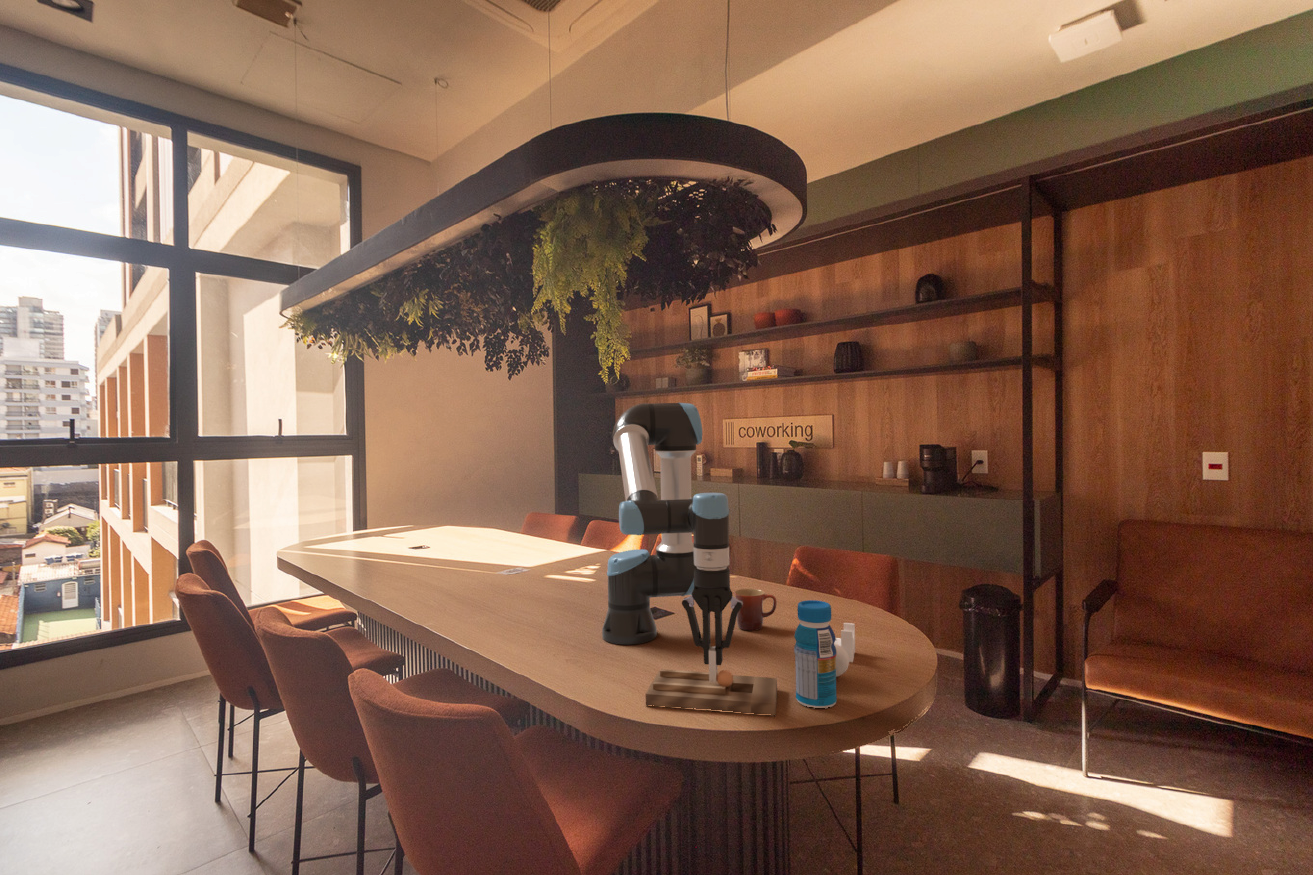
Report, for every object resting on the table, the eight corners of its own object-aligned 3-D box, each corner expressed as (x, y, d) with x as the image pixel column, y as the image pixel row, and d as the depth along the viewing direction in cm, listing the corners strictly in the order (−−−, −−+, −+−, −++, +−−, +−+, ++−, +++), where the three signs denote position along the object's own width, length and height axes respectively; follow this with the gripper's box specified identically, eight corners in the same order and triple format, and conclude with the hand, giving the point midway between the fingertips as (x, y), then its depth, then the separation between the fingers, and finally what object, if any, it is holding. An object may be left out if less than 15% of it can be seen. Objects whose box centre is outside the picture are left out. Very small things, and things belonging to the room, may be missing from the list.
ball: (735, 682, 124) (724, 693, 125) (737, 676, 127) (726, 687, 128) (723, 669, 125) (712, 680, 125) (725, 664, 128) (714, 675, 129)
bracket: (855, 653, 152) (854, 623, 152) (852, 663, 146) (852, 631, 146) (802, 647, 157) (802, 618, 157) (798, 656, 151) (797, 626, 151)
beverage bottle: (792, 706, 122) (790, 607, 122) (798, 690, 130) (796, 597, 130) (835, 712, 119) (833, 611, 119) (839, 695, 127) (837, 600, 127)
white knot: (847, 671, 140) (846, 632, 140) (852, 692, 128) (851, 650, 129) (797, 668, 143) (796, 630, 143) (797, 688, 131) (796, 647, 131)
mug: (735, 632, 170) (734, 595, 170) (734, 623, 178) (733, 588, 178) (778, 633, 169) (777, 596, 169) (775, 623, 177) (774, 588, 177)
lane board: (645, 706, 124) (645, 687, 124) (659, 681, 136) (659, 664, 136) (775, 716, 118) (775, 697, 118) (777, 689, 130) (776, 672, 131)
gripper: (677, 569, 125) (679, 684, 125) (741, 571, 122) (743, 689, 122) (684, 562, 132) (686, 670, 132) (744, 564, 129) (746, 675, 129)
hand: (713, 679), depth 127 cm, fingers closed
